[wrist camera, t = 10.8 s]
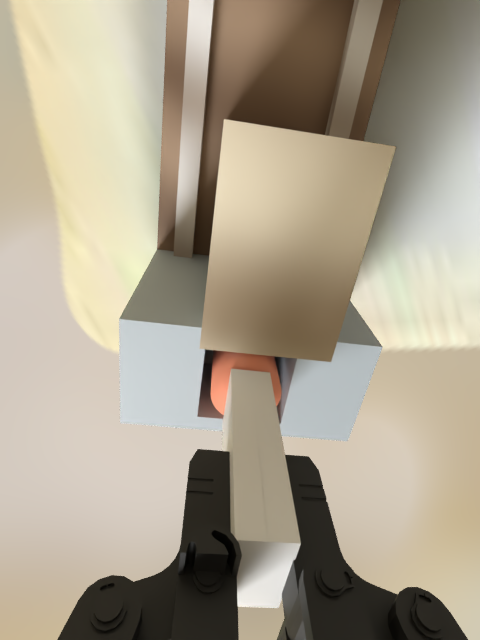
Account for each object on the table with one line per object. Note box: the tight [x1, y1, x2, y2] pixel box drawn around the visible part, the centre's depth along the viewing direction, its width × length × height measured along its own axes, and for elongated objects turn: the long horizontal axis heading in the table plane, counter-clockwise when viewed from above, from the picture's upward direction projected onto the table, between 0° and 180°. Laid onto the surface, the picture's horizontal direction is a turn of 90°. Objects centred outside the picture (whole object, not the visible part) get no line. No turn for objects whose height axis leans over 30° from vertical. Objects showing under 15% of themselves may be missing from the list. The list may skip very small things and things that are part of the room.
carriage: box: [199, 119, 396, 362], centre depth 15 cm, size 6×4×11 cm, turn 172°
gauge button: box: [211, 350, 281, 415], centre depth 17 cm, size 3×3×4 cm
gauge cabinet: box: [119, 249, 382, 441], centre depth 20 cm, size 5×10×10 cm, turn 82°
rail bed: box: [157, 0, 400, 258], centre depth 17 cm, size 26×10×4 cm, turn 172°
